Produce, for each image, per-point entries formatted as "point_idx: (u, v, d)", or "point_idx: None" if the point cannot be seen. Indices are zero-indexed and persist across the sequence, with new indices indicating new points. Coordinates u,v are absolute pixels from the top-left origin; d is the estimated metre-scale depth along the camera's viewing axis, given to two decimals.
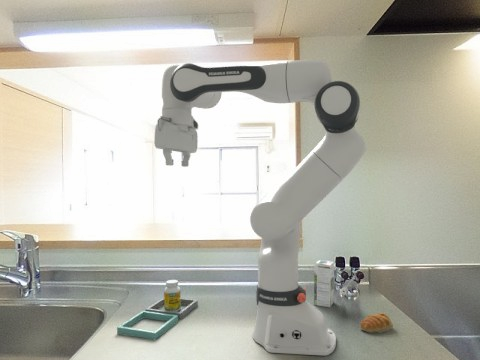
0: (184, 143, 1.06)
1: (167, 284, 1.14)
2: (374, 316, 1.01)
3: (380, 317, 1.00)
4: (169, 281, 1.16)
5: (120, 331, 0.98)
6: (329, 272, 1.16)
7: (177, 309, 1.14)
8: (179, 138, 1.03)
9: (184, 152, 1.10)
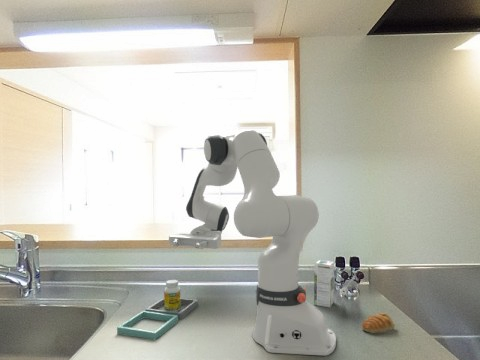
0: (197, 236, 1.33)
1: (167, 284, 1.14)
2: (376, 316, 1.00)
3: (382, 317, 1.00)
4: (169, 281, 1.16)
5: (120, 331, 0.98)
6: (329, 272, 1.16)
7: (177, 309, 1.14)
8: (190, 235, 1.35)
9: None
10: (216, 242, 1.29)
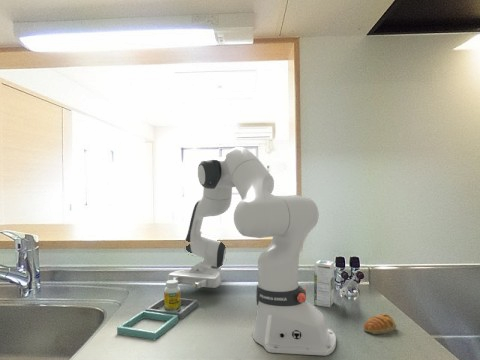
0: (196, 274, 1.30)
1: (167, 284, 1.14)
2: (377, 317, 1.00)
3: (384, 318, 0.99)
4: (169, 281, 1.16)
5: (120, 331, 0.98)
6: (329, 272, 1.16)
7: (177, 309, 1.14)
8: (190, 273, 1.32)
9: None
10: (215, 281, 1.26)
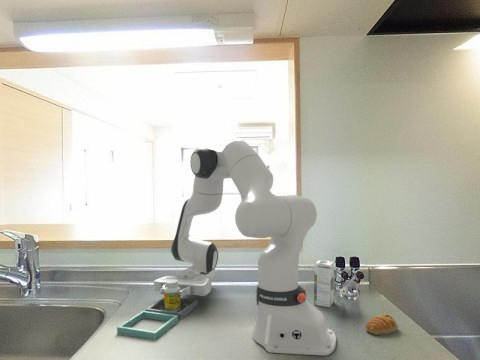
0: (184, 281, 1.21)
1: (167, 284, 1.14)
2: (379, 318, 1.00)
3: (385, 318, 0.99)
4: (169, 281, 1.16)
5: (120, 331, 0.98)
6: (329, 272, 1.16)
7: (177, 309, 1.14)
8: None
9: None
10: (204, 288, 1.17)
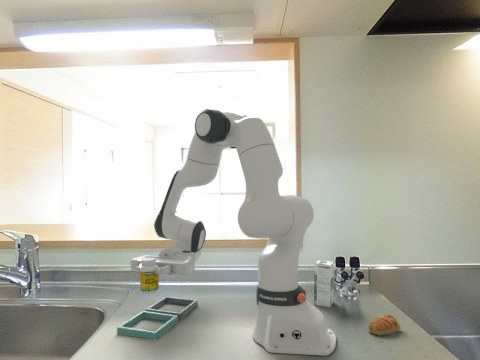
0: (163, 260, 1.08)
1: (143, 262, 1.01)
2: (382, 318, 0.99)
3: (388, 319, 0.99)
4: (146, 259, 1.03)
5: (120, 331, 0.98)
6: (329, 272, 1.16)
7: (154, 290, 1.01)
8: (157, 258, 1.10)
9: None
10: (185, 267, 1.04)
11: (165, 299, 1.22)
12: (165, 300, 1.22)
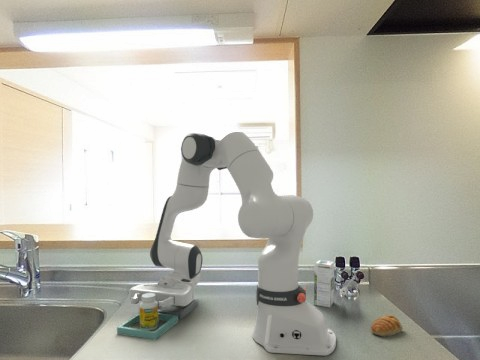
0: (163, 290, 1.08)
1: (143, 298, 1.01)
2: (384, 319, 0.99)
3: (390, 319, 0.98)
4: (145, 295, 1.02)
5: (120, 331, 0.98)
6: (329, 272, 1.16)
7: (154, 327, 1.01)
8: (156, 288, 1.10)
9: None
10: (185, 298, 1.03)
11: None
12: None
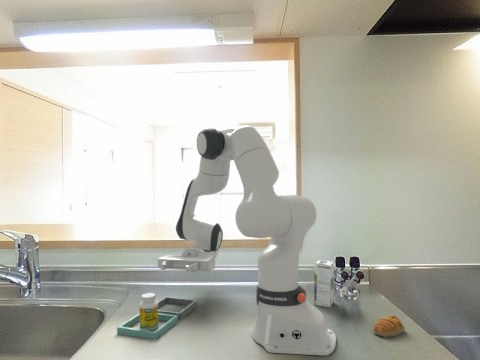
0: (187, 258, 1.20)
1: (143, 298, 1.01)
2: (386, 319, 0.98)
3: (392, 320, 0.98)
4: (145, 295, 1.02)
5: (120, 331, 0.98)
6: (329, 272, 1.16)
7: (154, 327, 1.01)
8: (181, 257, 1.23)
9: None
10: (208, 264, 1.16)
11: (165, 299, 1.22)
12: (165, 300, 1.22)
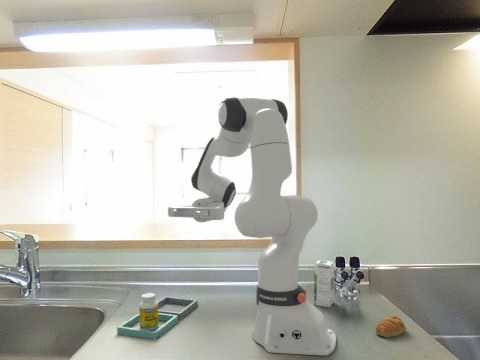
0: None
1: (143, 298, 1.01)
2: (388, 320, 0.98)
3: (394, 320, 0.98)
4: (145, 295, 1.02)
5: (120, 331, 0.98)
6: (329, 272, 1.16)
7: (154, 327, 1.01)
8: None
9: None
10: (218, 211, 1.19)
11: (165, 299, 1.22)
12: (165, 300, 1.22)
